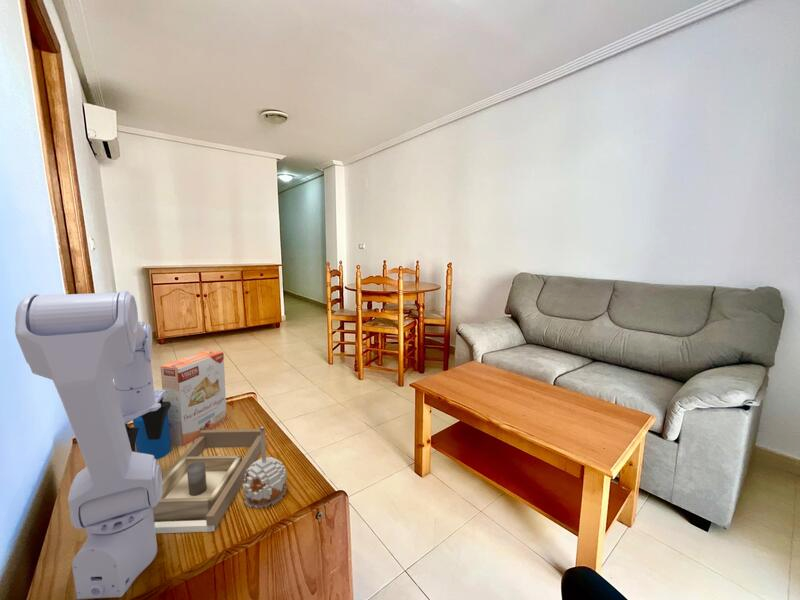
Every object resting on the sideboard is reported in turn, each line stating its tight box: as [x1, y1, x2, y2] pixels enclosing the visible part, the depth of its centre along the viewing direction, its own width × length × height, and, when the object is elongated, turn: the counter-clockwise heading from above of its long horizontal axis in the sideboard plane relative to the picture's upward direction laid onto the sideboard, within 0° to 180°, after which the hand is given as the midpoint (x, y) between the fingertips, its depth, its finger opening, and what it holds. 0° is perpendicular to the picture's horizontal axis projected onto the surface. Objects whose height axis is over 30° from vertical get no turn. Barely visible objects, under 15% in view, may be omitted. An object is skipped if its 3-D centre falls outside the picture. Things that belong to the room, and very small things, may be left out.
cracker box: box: [160, 349, 228, 447], centre depth 87 cm, size 14×6×21 cm, turn 164°
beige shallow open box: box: [153, 454, 243, 521], centre depth 65 cm, size 13×12×6 cm
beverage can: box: [132, 412, 172, 461], centre depth 77 cm, size 6×6×12 cm
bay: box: [154, 428, 261, 535], centre depth 69 cm, size 26×15×5 cm, turn 4°
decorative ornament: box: [242, 426, 288, 509], centre depth 65 cm, size 8×8×15 cm
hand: (141, 449), depth 65 cm, fingers open, 7 cm apart
